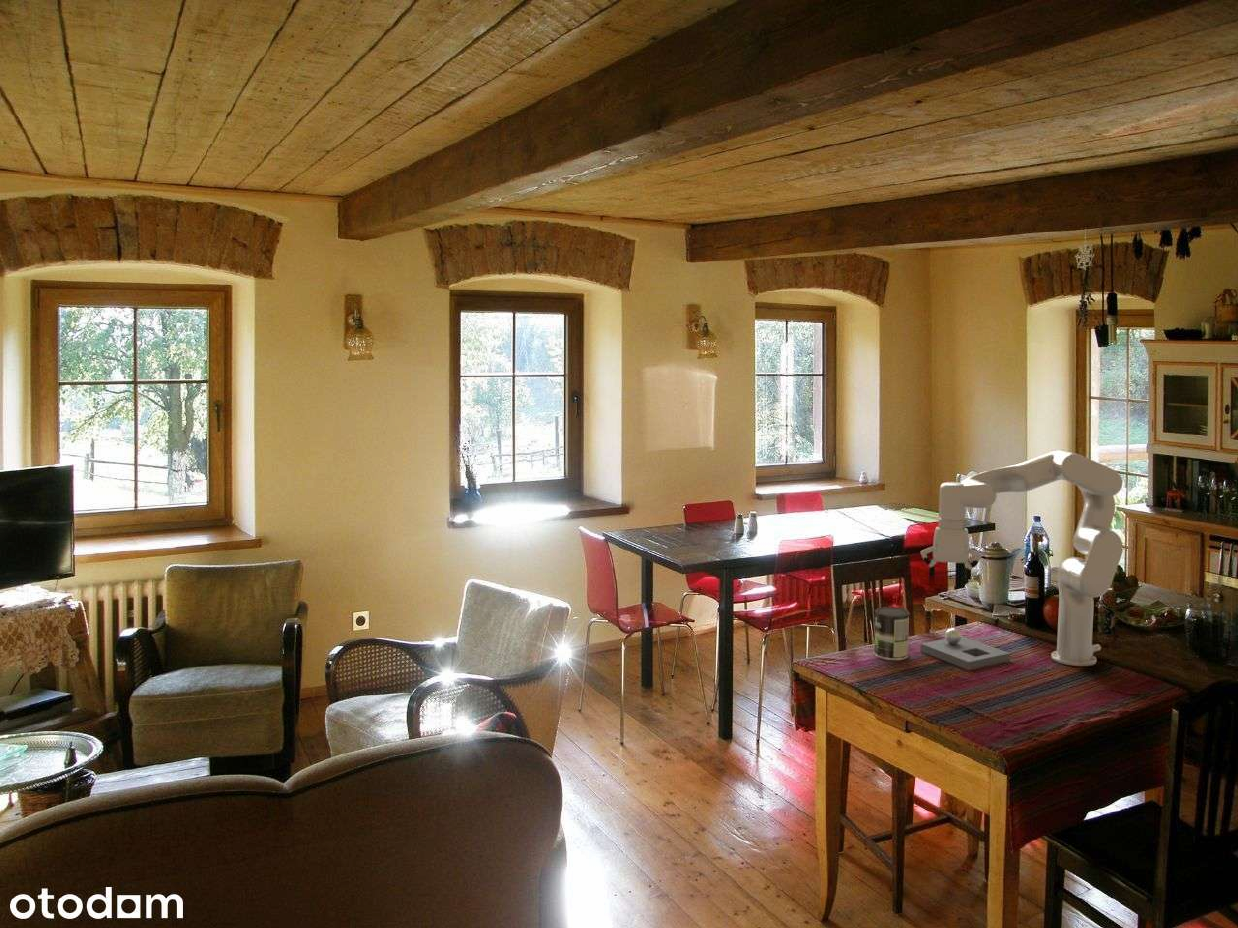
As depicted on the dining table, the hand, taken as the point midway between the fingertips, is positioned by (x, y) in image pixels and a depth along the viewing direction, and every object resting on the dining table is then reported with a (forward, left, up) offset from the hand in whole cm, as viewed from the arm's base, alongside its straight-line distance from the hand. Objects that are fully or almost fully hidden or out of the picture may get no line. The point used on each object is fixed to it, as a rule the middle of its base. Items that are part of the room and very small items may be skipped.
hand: (949, 580), depth 300 cm
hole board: (-11, -4, -26) cm, 29 cm away
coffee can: (+8, -15, -26) cm, 32 cm away
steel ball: (-11, -9, -21) cm, 25 cm away
